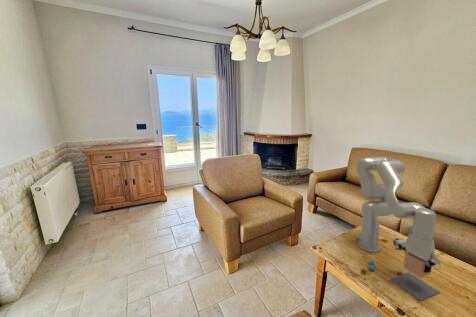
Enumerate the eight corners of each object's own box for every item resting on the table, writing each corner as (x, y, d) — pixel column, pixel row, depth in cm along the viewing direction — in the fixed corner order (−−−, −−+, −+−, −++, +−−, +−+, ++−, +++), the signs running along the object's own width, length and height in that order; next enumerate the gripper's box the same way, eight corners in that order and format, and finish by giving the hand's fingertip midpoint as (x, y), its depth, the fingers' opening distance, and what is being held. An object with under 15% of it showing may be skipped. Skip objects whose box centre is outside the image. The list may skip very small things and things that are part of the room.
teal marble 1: (375, 264, 116) (373, 267, 118) (376, 261, 119) (374, 264, 120) (369, 260, 118) (367, 264, 119) (370, 257, 120) (368, 261, 122)
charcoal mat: (389, 279, 108) (390, 278, 108) (408, 273, 112) (408, 272, 112) (420, 301, 95) (420, 300, 95) (439, 293, 99) (439, 292, 99)
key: (414, 257, 125) (414, 254, 125) (441, 264, 119) (442, 261, 118) (416, 264, 119) (417, 261, 119) (445, 272, 113) (446, 269, 112)
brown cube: (403, 267, 104) (405, 253, 103) (413, 264, 106) (415, 250, 105) (420, 277, 97) (422, 262, 96) (430, 273, 99) (432, 259, 98)
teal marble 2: (376, 269, 113) (375, 271, 115) (374, 263, 115) (372, 266, 117) (371, 269, 113) (369, 271, 115) (368, 263, 116) (367, 266, 117)
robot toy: (395, 251, 132) (425, 257, 124) (395, 244, 131) (426, 250, 124) (392, 241, 142) (420, 246, 135) (392, 235, 142) (421, 239, 134)
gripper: (397, 226, 105) (393, 257, 108) (439, 245, 89) (433, 281, 92) (407, 224, 107) (403, 254, 111) (450, 242, 91) (444, 276, 94)
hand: (417, 266), depth 101 cm, fingers closed on brown cube, 7 cm apart
